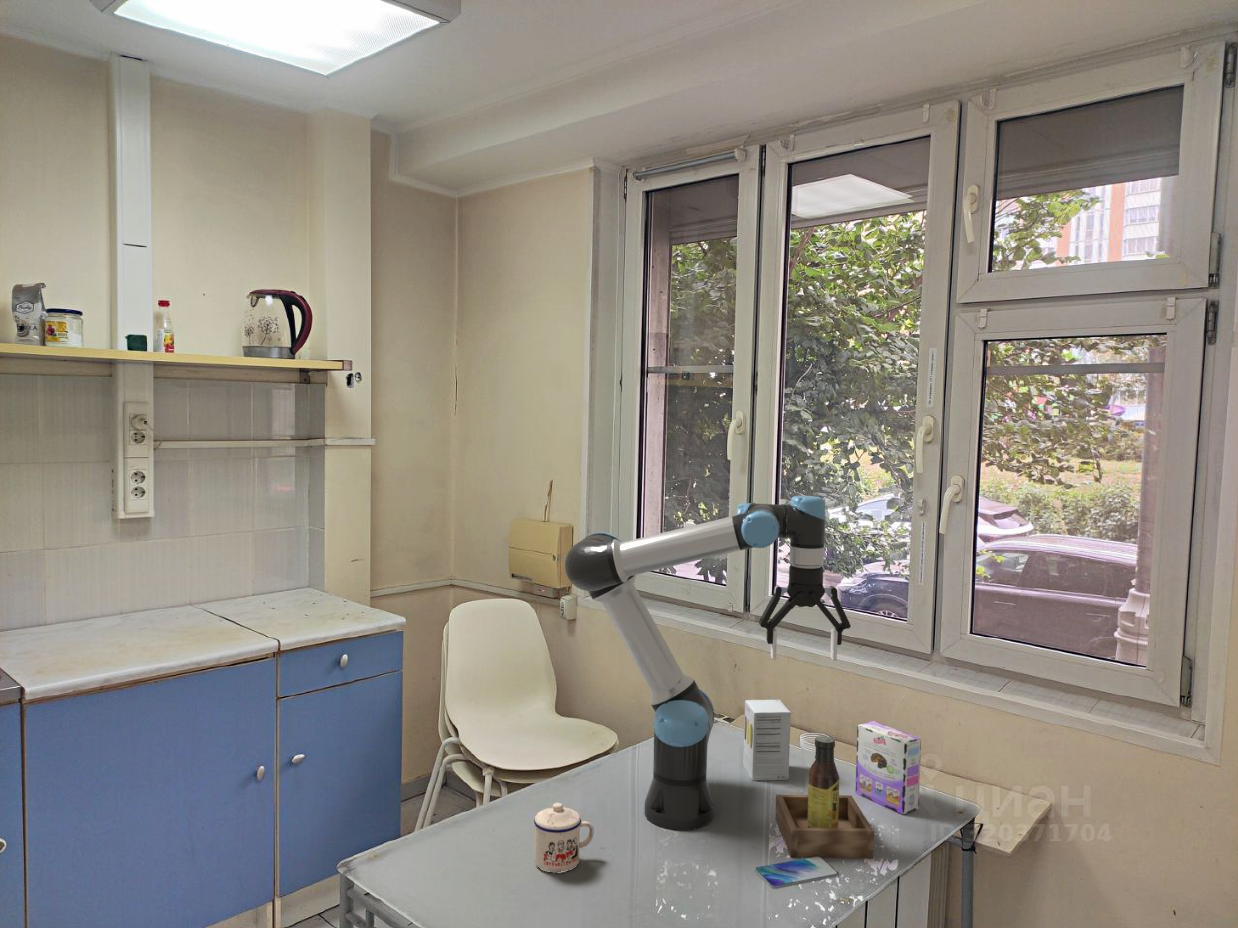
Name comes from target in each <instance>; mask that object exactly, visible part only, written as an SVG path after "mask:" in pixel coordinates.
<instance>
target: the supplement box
mask: <svg viewBox="0 0 1238 928" xmlns="http://www.w3.org/2000/svg"><path fill="white" fill-rule="evenodd" d="M744 701H745V702H744V721H743V722H744V723H743V725H744V727H743V757H742V760H743V761H742V762H743V763H742V766H743V767H744V770H745V771H746V773H747V775H748V776H749V778H750V780H751V781H755V782H756V781H758V780H759V781H788V780H789V779H790V778H789V773H790V750H791V749H790V748H791V747H790V740H791V720H792V719H791V718H792V712H791V710H789V709H788V708H787V707H786V705H785V704H784V703H783V702H782V701H781V699H748V700H747V699H746V700H744Z"/></svg>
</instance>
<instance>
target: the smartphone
mask: <svg viewBox="0 0 1238 928" xmlns="http://www.w3.org/2000/svg"><path fill="white" fill-rule="evenodd" d="M754 872H755V873H756V875H757V876H758V877H760V879H761V880H762V881H763V882H765V884H766V885H767V886H769V888H771V889H773V890H774V889H781V888H786V887H791V886H794V885H795V886H796V885H799V884H805V883H810V882H815V881H820V880H825V879H831V878H834V877H835V878H836V877H839V876H840V873H839V871H838V870H837V869H835V867H833V866H832V865H831V864H830V863H829V862H828V861H826V859H824V858H822V857H820V856H815V857H803V858H799V859H793V860H789V861H783V862H778V863H772V864H766V865H761V866H757V867H755V868H754Z"/></svg>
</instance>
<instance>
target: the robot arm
mask: <svg viewBox="0 0 1238 928" xmlns="http://www.w3.org/2000/svg"><path fill="white" fill-rule="evenodd" d="M825 530H826V502H825V500H824V499H823V498H822V497H821V496H813V495H794V496H792V497H791V501H790V504H789V503H788V504H774V503H773V504H770V503H756V502H751V503H749V502H747V503H745V502H744V503H739V504H738V506H737V512H736V515H732V516H728V517H723V518H719V519H716V520H711V521H708V522H704V523H703V522H702V523H698V524H693V525H690V526H689V525H688V526H687V527H682V528H676V529H672V530H669V531H665V532H660V533H656V534H652V535H648V536H644V537H639V538H635V539H631V540H626V541H622V540H621V539H620V538H619V537H617V536H616V535H614V534H612V533H608V532H596V533H595V532H594V533H592V534H590V535H587V536H585V537H584V538H582V540H580V541H578V542H577V543H575V544H574V545H573V546H572V547H571V548H570V549H569V550H568V553H567V554H566V557H565V559H564V569H565V570H564V572H565V574H566V577H567V579H568V580H569V582H570V583H571V584H572V585H573V586H574V587H576V588H578V589H580V590H582V591H585V592H588V594H589V595H590V597H591V599H592V601H595V602H599V603H601V604H602V605H603V608H604V609H605V611H606V613H607V614H608V617H609V618H610V619H611V622H612V624H613V626H614V627H615V629H616V631H617V632H618V635H619V636H620V638H621V640H622V641H623V643H624V645H625V647H626V649H627V651H628V652H629V655H630V656H631V657H632V659H633V661H634V663H635V665H636V666H637V669H638V670H639V672H640V674H641V676H642V678H643V679H644V681H645V683H646V685H647V686H648V688H649V690H650V692H651V697H650V700H649V703H650V705H651V708H652V709H653V710H654V712H655V714H654V718H653V723H652V725H653V762H652V763H653V767H652V768H653V769H652V770H653V771H652V780H651V784H650V786H649V789H648V792H647V794H646V797H645V800H644V810H643V811H644V812H643V813H644V816H645V818H646V819H647V820H648V821H649V822H651V823H652V824H654V825H656V826H659V827H662V828H665V829H671V830H693V829H699V828H703V827H704V826H707V825H708V824H710V823H711V822H712V821H713V819H714V817H715V816H714V815H715V811H714V810H715V807H714V803H713V798H712V795H711V794H712V793H711V791H710V788H709V785H708V782H707V781H708V780H707V771H708V770H707V767H708V766H707V765H708V745H709V741H710V740H709V739H710V736H711V732H712V729H713V727H714V723H715V710H714V705H713V702H712V700H711V698H710V697H709V696H708V694H706V692H705V691H703V690H702V689H700V688H699V686H698V684H697V682H696V681H695V678H694V677H692V676H689V675H686V674H684V672H683V670H682V669H681V667H680V665H679V663H678V661H677V660H676V658H675V656H674V654H673V653H672V651H671V649H670V647H669V645H668V643H667V642H666V640H665V638H664V637H663V635H662V633H661V631H660V629H659V627H658V626H657V624H656V621H655V620H654V618H653V616H652V615H651V613H650V611H649V610H648V608H647V606H646V604H645V603H644V602H645V601H644V600H643V598H642V597H641V595H640V594H639V592H638V590H637V588H636V586H635V581H636V578H637V575H641V574H645V573H649V572H653V571H659V570H662V569H668V568H670V567H671V568H672V567H676V566H679V565H684V564H687V563H693V562H696V561H697V562H698V561H701V560H705V559H709V558H714V557H717V556H722V555H725V554H731V553H734V552H738V551H739V552H740V551H744V550H745V551H746V550H749V549H754V548H756V549H765V548H767V547H769V546H771V545H773V544H774V543H775V542H776V541H777V539H778V538H779V539H782V538H783V539H789V540H790V542H789V561H788V562H789V563H790V566H789V567H788V568H789V569H788V585H787V587H786V586H780V585H778V584H776V585H774V587H773V594H772V596H771V598H770V600H769V602H768V604H767V605H766V607H765V609H764V611H763V613H762V615H761V616H760V619H759V620H758V624H759V625H760V627H761V628H764V629H766V642H767V644H768V645H770V658H771V659H772V660H776V661H777V642H778V641H777V640H778V639H777V638H778V630H777V629H776V627H777V626H778V625H779V624H780V623H781V621H782V620H783V619H784V618H785V617H786V616H787V614H789V613H790V611H791V610H793V609H794V608H795V607H796V606H797V607H799V608H804V607H807V608H814V607H815V606H817V608H819V610H820V611H821V612H822V614H823V615H824V616H825V618H826V619H827V620H829V621H828V622H830V623H831V625H832V626H833V627H834V628H831V630H830V654H829V655H830V656H829V657H830V658H831V660H832V661H837V658H838V657H837V655H838V646H841V645H842V640H843V636H842V635H843V632H844V630H846V629H847V630H848V629H851V623H850V621H849V619H848V617H847V614H846V613H845V610H844V608H843V606H842V604H841V602H840V600H839V598H838V595H839V594H838V589H837V588H836V587H835V586H834V585H831V586H829V587H824V567H823V565H824V563H825V537H826V536H825V532H826V531H825ZM786 593H787V595H788V596H789V597H788V599H787V600H786V601H785V603H784V604H783V605H782V606H781V607H780V609H778V611H776V613H775V614H774V615H773V616H772V614H773V613H774V611H775V609H776V608H777V605H778V603H780V602H779V601H780V600H781V597H783V596H784V595H785V594H786ZM825 594H826V595H827V597H829V599H830V600H831V602H832V604H833V607H834V610H836V614H837V615H838V617H839V620H840V623H839V621H838V620H837V619H836V618H835V616H834V615H833V614H832V613H831V611H830V610H829V609H828V608H827V606H826V605H825V604H824V603H823V602H822V600H821V599H822V598H823V596H824V595H825ZM771 617H772V618H771ZM770 618H771V619H770Z"/></svg>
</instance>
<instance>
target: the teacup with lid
mask: <svg viewBox="0 0 1238 928" xmlns="http://www.w3.org/2000/svg"><path fill="white" fill-rule="evenodd" d="M533 823H534V828H535V829H534V864H535V863H536V864H535V866H536V865H537V866H538V867H540V868H541V869H543V870H546V871H550V872H561V871H566V870H570V869H572V868H574V867H575V866H577V864H578V863H579V864H580V849H582V848H584V847H587V846H588V845H589V844H590V843H591V842H592V840H593V839H594V834H595V828H594V826H593V824H592V823H591V822H589V821H585V820H584V821H582V819H581V816H580V814H579V812H577V811H576V810H574V809H572V808H569V807H565V806H564V805H563V804H562V803H561V802H555V803H553V804H552V807H547V808H544V809H542V810H541V811H539V812H537V814H536V815H535V817H534V819H533ZM583 827H588V828H589V832H588V836H587V838H586V839H585V840H583V841H582V842H580V837H581V835H580V833H581V828H583ZM579 864H578V865H579ZM537 866H536V867H537ZM538 867H537V868H538ZM577 867H578V866H577Z"/></svg>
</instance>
